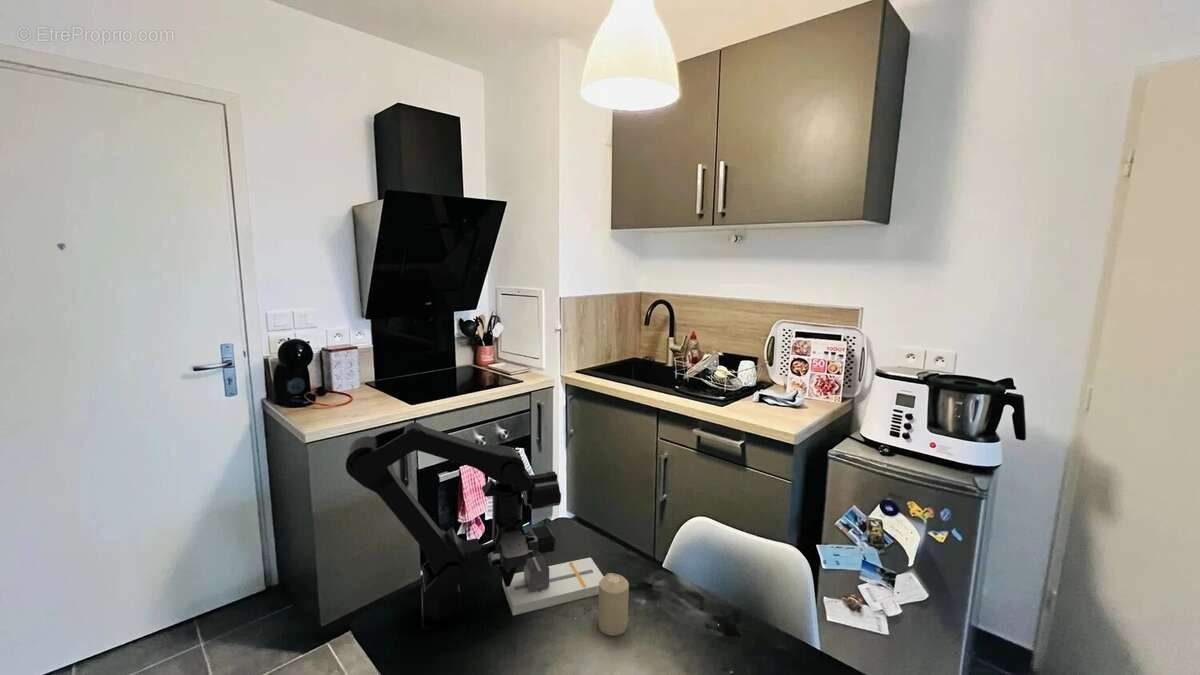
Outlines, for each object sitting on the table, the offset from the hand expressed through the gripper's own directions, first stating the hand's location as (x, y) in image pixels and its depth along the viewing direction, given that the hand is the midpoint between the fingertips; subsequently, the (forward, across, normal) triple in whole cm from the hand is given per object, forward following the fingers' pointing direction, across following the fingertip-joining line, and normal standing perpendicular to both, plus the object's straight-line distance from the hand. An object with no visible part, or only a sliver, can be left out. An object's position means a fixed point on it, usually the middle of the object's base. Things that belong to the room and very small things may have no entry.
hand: (507, 585), depth 99 cm
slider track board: (+3, +10, 0) cm, 10 cm away
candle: (+3, +17, -14) cm, 22 cm away
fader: (+1, +6, 0) cm, 6 cm away
